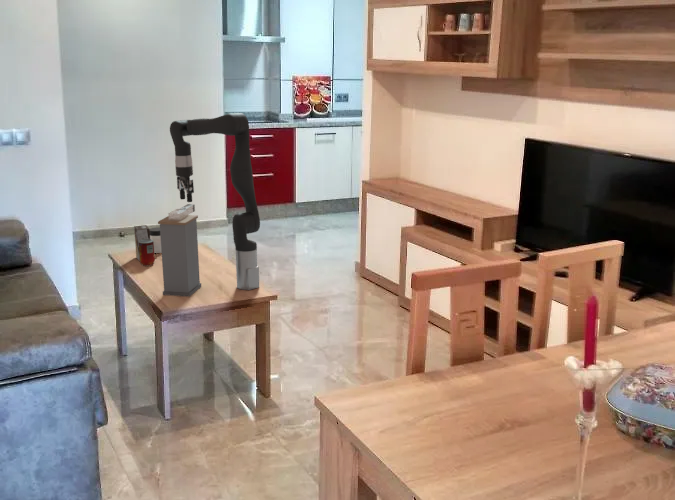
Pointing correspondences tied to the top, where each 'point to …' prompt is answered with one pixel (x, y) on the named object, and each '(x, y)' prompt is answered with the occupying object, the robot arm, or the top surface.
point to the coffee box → (140, 236)
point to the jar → (156, 239)
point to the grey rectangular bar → (181, 212)
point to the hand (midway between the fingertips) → (186, 200)
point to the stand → (180, 256)
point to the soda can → (146, 252)
